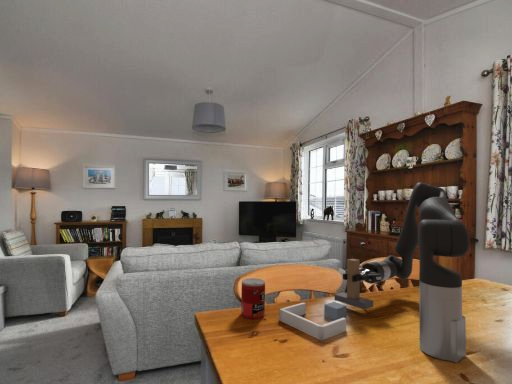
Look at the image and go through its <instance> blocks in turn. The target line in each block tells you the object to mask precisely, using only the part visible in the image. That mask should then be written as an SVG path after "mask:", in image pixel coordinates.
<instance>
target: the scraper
mask: <svg viewBox="0 0 512 384" xmlns="http://www.w3.org/2000/svg"><path fill="white" fill-rule="evenodd" d="M360 261H361V260H360V259H356V258H350V259H349V258H348V259H346V269H347V280H346V292H345V291H344V292H343V291H342V292H339V293H335V294H334V301H335V302H340V303H341V304H344V305H345V304H346V305H348V306H349V305H350V306H352V307H356V308H359V309H361V310H364V311H365V310H369V309H371V308H373V307H374V300H372V299H368V298H365V297H362V296H360V293H361V291H360V287H361V286H360V282H361V281H358V282H352V275H357V274H360V268H361V265H360Z"/></svg>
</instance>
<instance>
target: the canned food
mask: <svg viewBox="0 0 512 384" xmlns="http://www.w3.org/2000/svg"><path fill="white" fill-rule="evenodd" d="M240 301H241V304H240V307H241V308H240V309H241V316H242V317H243V318H246V319H249V320H258V319H262V318H263V317H264V316H265V312H266V311H265V310H266V308H265V307H266V281H265V280H264V279H262V278H256V277H255V278H251V277H250V278H249V277H248V278H245V279H242V280H241V300H240Z"/></svg>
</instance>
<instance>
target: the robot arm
mask: <svg viewBox="0 0 512 384" xmlns="http://www.w3.org/2000/svg"><path fill="white" fill-rule="evenodd" d="M447 197H448V196H447V192H446V190H445V189H444V188H443V187H439V186H436V185H432V184H430V183H429V184H428V183H425V182H420V181H419V182H417V183H416V184H414V187H413V189H412V191H411V193H410V196H409V200H408V205H407V207H406V212H405V215H404V220H403V224H402V229H401V231H400V233H399V237H398V240H396V241H397V242H396V244H395V246H394V251H395V252H396V254H398V256H400V258H399V257H397V256H396V255H388V256H387V257H386V258H385V259H383V260H381V261H380V260H377V261H376V260H375V261H370V262H365V263H363V264H362V265H361V266H360V274H357V275H352V282H358V281H360V282H365V283H367V284H370V285H371V284H377V283H380V282H384V281H386V280H389V279H392V278H394V277H397V278H398V279H400V280H407V279H408V278H410V276H411V274H412V271H413V260H414V254H415V252H416V249H417V246H418V255H419V257H418V258H419V262H418V263H419V264H418V265H419V267H418V268H419V275H418V276H419V277H418V280H419V284H418V285H419V286H418V288H419V293H418V294H419V295H418V296H419V299H418V300H419V313H418V314H419V319H418V320H419V325H418V326H419V337H418V338H419V349H420V350H421V351H422V353H425V354H427V355H428V356H431V357H433V358H436V359H438V360H443V361H449V362H453V363H456V364H457V363H459V362H460V361H461V360H462V359H464V358H465V357H466V356H467V347H466V346H467V339H466V338H467V336H466V333H467V332H466V327H467V326H466V323H467V322H466V321H467V320H466V316H465V315H463V279H462V277H463V276H462V275H461V273H459V272H458V271H455V270H453V269H451V268H447V267H445V266H443V265H441V264H440V263H438V262H437V261H435V260H434V257H435V256H436V257H445V258H447V257H450V258H457V257H459V258H460V257H463V256H465V255H466V254H467V253H468V251H469V249H470V247H471V246H470V245H471V244H470V243H471V242H470V241H471V239H470V234H469V231H468V228H467V226H466V225H465V224H464V222H463V221H462V220H461V219H460V218H458V216H456V214H455V212H454V210H453V208H452V206H451V204H450V203H449V201H448V198H447ZM417 207H418V208H419V209H418V216H419V219H420V222H419V223H417V219H416V211H417ZM342 280H344V281H347V268H346V269H345V272H344V273H342Z"/></svg>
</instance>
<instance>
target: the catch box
mask: <svg viewBox="0 0 512 384" xmlns="http://www.w3.org/2000/svg"><path fill="white" fill-rule="evenodd" d="M306 304H307V303H306V302H301V303H296V304H293V305H289V306H285V307H282V308H279V309H278V310H279V311H278V312H279V313H278V314H279V316H278V317H279V318H278V321H280V322H281V323H284V324H286V325H288V326H291V327H292V328H295V329H297V330H299V331H300V332H303V333H305V334H306V335H309V336H311V337H313V338H315V339H316V340H319V341H321V342H322V341H324V340H327V339H330V338H332V337H335V336H337V335H339V334H341V333H344V332H346V331H347V317H346V318H344V317H343V318H341V319H338V320H332V321H329V322H327V323H325V324H322V325H321V324H319V323H316V322H315V321H312V320H309V319H308V318H305V317H303V315H306V313H307V312H306V311H307V310H306V309H307V308H306Z"/></svg>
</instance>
